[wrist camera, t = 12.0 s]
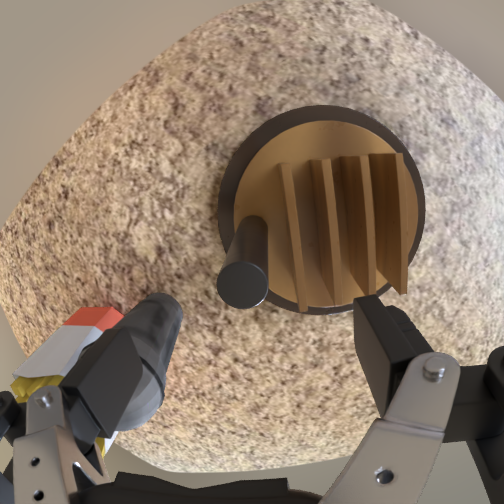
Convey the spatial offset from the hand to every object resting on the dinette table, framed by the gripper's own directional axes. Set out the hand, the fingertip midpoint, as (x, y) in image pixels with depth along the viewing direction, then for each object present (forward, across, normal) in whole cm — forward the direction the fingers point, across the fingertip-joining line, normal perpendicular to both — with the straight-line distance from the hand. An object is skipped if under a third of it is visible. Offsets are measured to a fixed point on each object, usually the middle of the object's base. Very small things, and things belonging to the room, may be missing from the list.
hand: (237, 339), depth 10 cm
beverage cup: (+19, +11, +8) cm, 23 cm away
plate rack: (+17, -6, 0) cm, 18 cm away
